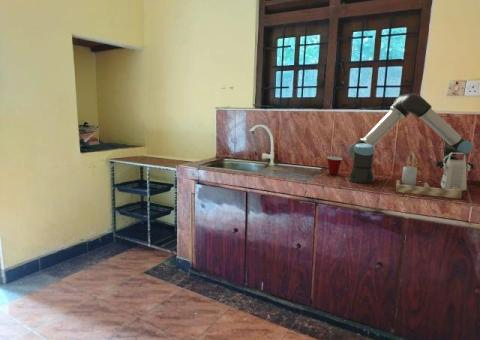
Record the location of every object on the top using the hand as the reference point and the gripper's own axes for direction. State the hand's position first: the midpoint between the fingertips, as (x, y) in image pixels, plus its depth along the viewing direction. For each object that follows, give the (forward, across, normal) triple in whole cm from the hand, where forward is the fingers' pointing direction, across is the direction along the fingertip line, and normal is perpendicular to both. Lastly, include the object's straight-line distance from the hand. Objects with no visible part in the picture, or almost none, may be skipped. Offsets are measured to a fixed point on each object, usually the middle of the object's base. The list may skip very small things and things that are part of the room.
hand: (457, 167), depth 170 cm
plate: (-4, 0, -13) cm, 14 cm away
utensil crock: (+12, +24, -13) cm, 29 cm away
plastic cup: (-15, +70, -13) cm, 72 cm away
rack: (+12, +14, -13) cm, 23 cm away
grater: (-4, 0, -13) cm, 13 cm away
